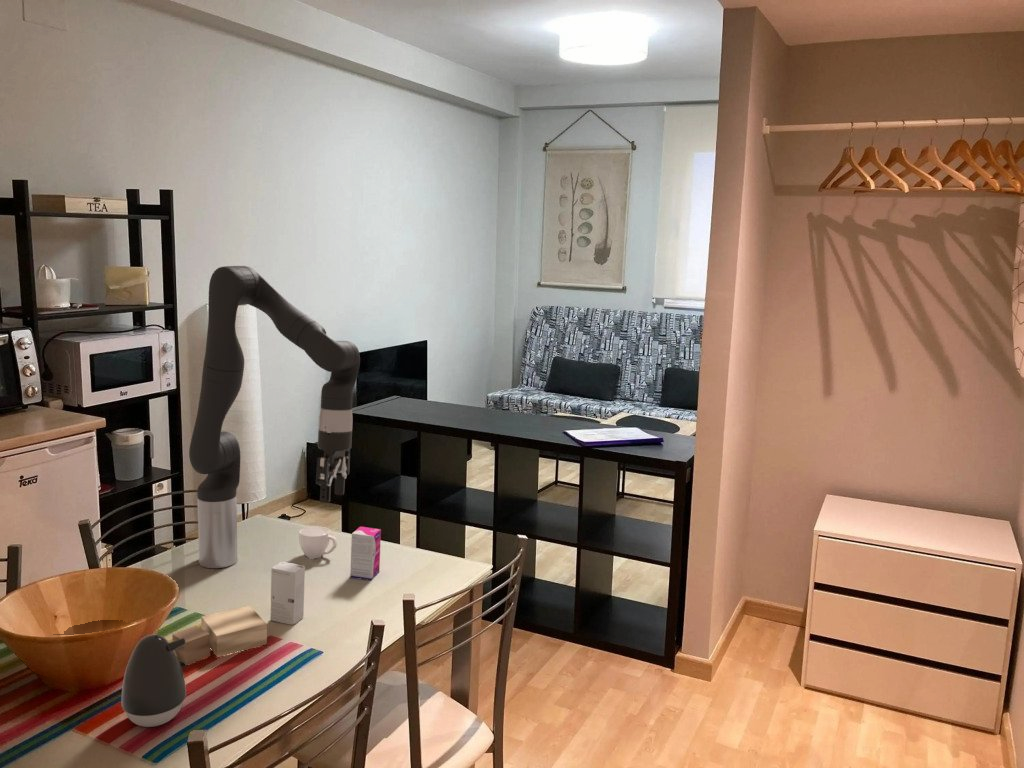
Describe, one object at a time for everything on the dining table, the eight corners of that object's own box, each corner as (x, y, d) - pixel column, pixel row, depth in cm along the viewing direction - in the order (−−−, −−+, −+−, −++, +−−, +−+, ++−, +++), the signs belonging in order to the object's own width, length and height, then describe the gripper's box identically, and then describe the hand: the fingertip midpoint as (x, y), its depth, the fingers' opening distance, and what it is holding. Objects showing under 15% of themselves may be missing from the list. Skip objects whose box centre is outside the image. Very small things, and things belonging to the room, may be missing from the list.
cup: (307, 548, 222) (307, 524, 221) (342, 553, 220) (342, 528, 219) (294, 559, 215) (293, 534, 214) (330, 564, 213) (330, 538, 212)
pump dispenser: (182, 732, 140) (180, 648, 137) (115, 738, 138) (111, 652, 135) (192, 699, 150) (190, 620, 147) (130, 704, 147) (126, 624, 145)
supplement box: (372, 580, 204) (372, 536, 202) (349, 577, 205) (349, 533, 203) (380, 571, 209) (381, 528, 207) (358, 569, 210) (358, 525, 208)
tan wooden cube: (173, 657, 164) (172, 634, 163) (196, 648, 168) (195, 625, 167) (186, 666, 161) (186, 642, 160) (210, 657, 165) (209, 633, 164)
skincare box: (269, 620, 181) (269, 568, 179) (281, 612, 185) (280, 560, 183) (294, 625, 179) (294, 572, 177) (305, 617, 183) (305, 565, 181)
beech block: (201, 639, 172) (201, 616, 171) (249, 627, 178) (249, 605, 177) (217, 659, 164) (216, 636, 163) (266, 646, 170) (266, 623, 169)
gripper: (331, 423, 197) (328, 490, 199) (307, 430, 183) (303, 503, 185) (362, 426, 196) (358, 494, 197) (339, 433, 182) (335, 506, 183)
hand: (332, 498), depth 191 cm, fingers open, 8 cm apart
